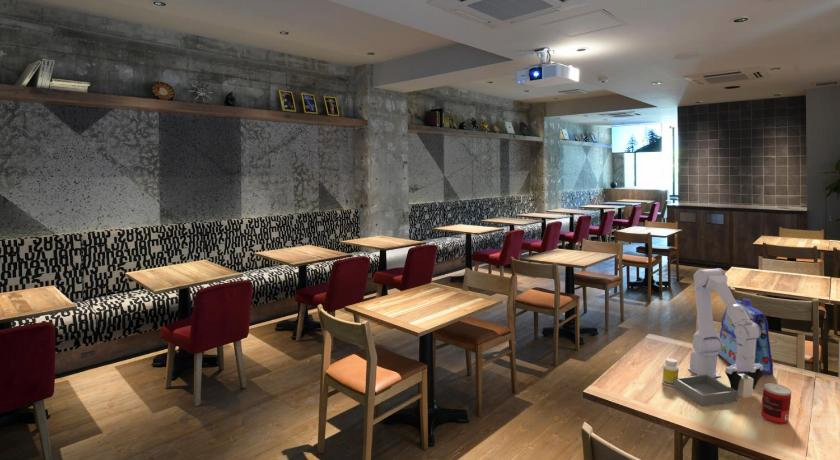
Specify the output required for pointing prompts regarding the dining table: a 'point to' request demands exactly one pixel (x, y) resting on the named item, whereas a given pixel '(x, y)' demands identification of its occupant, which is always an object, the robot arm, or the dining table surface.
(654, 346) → the dining table surface
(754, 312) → the lunch bag
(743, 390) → the juice carton
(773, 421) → the canned food
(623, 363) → the dining table surface
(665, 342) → the dining table surface
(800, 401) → the dining table surface
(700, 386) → the tray
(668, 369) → the supplement bottle
